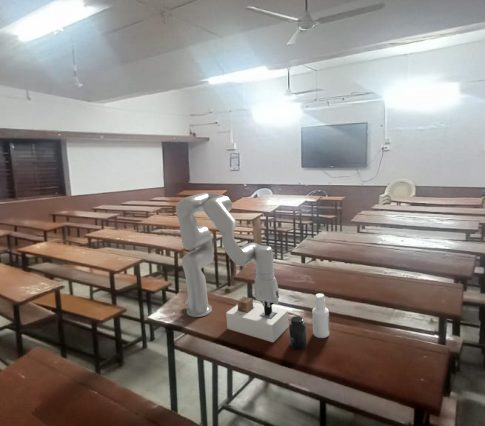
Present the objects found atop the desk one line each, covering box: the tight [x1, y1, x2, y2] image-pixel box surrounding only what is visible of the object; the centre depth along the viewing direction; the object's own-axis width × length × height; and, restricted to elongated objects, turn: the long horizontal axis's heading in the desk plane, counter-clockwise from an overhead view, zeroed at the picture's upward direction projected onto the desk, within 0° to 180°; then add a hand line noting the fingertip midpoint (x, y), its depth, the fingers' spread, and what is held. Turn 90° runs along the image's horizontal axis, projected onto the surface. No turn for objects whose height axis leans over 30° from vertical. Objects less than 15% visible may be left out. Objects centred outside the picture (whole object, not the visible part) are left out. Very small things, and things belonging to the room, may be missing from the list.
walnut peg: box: [236, 296, 254, 313], centre depth 169 cm, size 5×5×6 cm
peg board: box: [225, 301, 290, 343], centre depth 166 cm, size 24×14×8 cm, turn 55°
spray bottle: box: [311, 293, 330, 339], centre depth 156 cm, size 7×7×18 cm
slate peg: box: [260, 312, 276, 319], centre depth 163 cm, size 5×5×6 cm
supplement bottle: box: [288, 315, 307, 351], centre depth 150 cm, size 7×7×12 cm
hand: (268, 313), depth 162 cm, fingers closed
